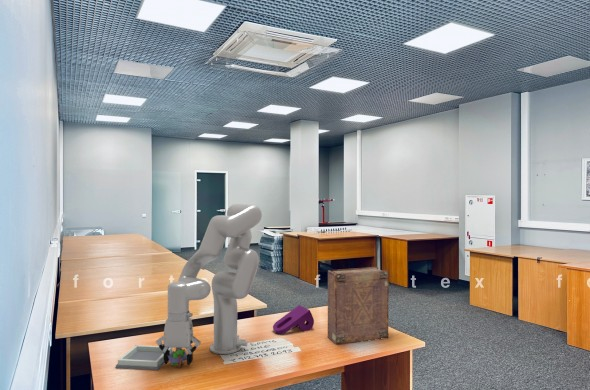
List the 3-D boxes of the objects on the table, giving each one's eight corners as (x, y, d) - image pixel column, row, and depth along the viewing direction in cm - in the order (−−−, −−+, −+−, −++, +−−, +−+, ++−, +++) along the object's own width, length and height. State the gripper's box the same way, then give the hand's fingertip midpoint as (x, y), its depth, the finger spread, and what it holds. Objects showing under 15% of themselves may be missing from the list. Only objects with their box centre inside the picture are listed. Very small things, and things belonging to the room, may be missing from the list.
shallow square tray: (174, 353, 161) (174, 346, 161) (157, 370, 146) (157, 362, 146) (135, 351, 163) (135, 344, 163) (115, 368, 148) (115, 360, 148)
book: (377, 331, 188) (378, 266, 187) (388, 338, 179) (389, 270, 178) (327, 337, 180) (327, 270, 179) (335, 345, 171) (336, 274, 170)
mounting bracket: (286, 348, 182) (316, 325, 190) (279, 333, 180) (309, 310, 188) (276, 341, 190) (305, 319, 198) (269, 326, 188) (299, 304, 196)
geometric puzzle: (192, 363, 147) (187, 341, 151) (173, 367, 143) (169, 345, 147) (186, 369, 152) (183, 348, 156) (168, 373, 148) (164, 352, 152)
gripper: (204, 313, 152) (204, 359, 153) (159, 311, 154) (159, 357, 154) (197, 320, 145) (197, 368, 145) (151, 318, 146) (151, 366, 147)
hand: (178, 362), depth 150 cm, fingers closed on geometric puzzle, 8 cm apart
